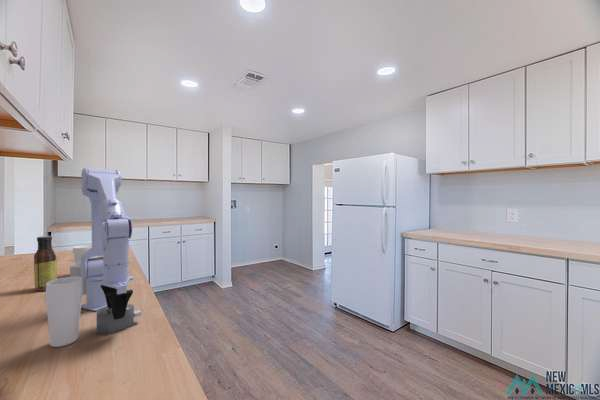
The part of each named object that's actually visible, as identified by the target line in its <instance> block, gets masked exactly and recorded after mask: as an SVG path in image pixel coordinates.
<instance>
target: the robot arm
mask: <svg viewBox="0 0 600 400" xmlns="http://www.w3.org/2000/svg"><path fill="white" fill-rule="evenodd" d="M80 178H81V181H80V183H81V192H82V195H83V196H85V197H88V199H89V201H90V202H89V203H90V209H91V210H90V214H91V217H90V218H91V222H90V223H91V244H92V248H91V249H89V250H88V251H87V252H85V253H84V254H83V255H82V257H81V277H82V278H83V279H86V280H87V292H86V294H85V295H86V303H84V304H83V303H82V304H81V309H86V310H90V311H94V312H98V311H99V310H100V311H101V310H104V309H108V308H112V313H113V317H114V319H115V320H116V319H120V318H124V315H125V312H126V307H127V305H128V304H129V301H130V299H131V297H132V296H133V293H134V291H133V289H128V285H129V282H130V281H133V280H134V279H135V277H134V276H133V275H132V276H131V275H130V274H129V273H130V264H129V263H130V239H131V238H132V236H133V223H132V219H131V218H130V217H129V216H128V215H126V211H125V208H124V205H123V202H122V201H120V200H119V199H117V194H118V192H119V189H120V187H121V185H122V174H121V172H120V171H119V170H118V169H114V170H113V169H101V168H88V167H84V168H83V169H82V170H81V177H80ZM94 256H98V258H91V257H94ZM99 256H100V257H99ZM89 258H91V259H89ZM127 284H128V285H127Z"/></svg>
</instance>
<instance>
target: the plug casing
mask: <svg viewBox="0 0 600 400" xmlns="http://www.w3.org/2000/svg"><path fill="white" fill-rule="evenodd" d="M140 316H141V317H142V311H141V310H140V309H138V310H135V305H134V304H129V303H128V304H127V307H126V312H125V315H124V318H120V319H116V320H115V319H114V317H113V313H112V308H108V307H107V308H103V309H100V311H99V310H98V311H96V327H95V328H96V335H100V336H104V335H108V334H112V333H115V332H118V331H121V330H126V328H127V329H129V328H131V327H133V326H134V324H135V318H137V317H140Z"/></svg>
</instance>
